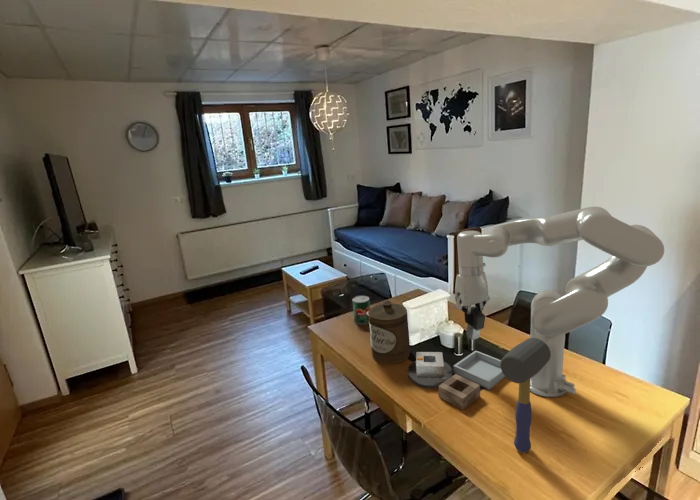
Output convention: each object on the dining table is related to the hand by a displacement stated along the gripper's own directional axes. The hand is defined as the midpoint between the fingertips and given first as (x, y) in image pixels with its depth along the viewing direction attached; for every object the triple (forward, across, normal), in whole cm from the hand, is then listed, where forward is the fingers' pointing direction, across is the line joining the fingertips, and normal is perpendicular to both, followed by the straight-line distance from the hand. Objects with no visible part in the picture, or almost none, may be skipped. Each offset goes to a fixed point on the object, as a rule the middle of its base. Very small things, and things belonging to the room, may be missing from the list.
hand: (473, 321), depth 128 cm
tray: (+20, -2, 0) cm, 20 cm away
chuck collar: (+17, +14, -7) cm, 23 cm away
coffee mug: (+18, +16, -44) cm, 50 cm away
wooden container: (+18, +20, -26) cm, 37 cm away
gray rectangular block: (+6, 0, -1) cm, 6 cm away
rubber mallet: (+20, +11, +32) cm, 40 cm away
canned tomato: (+17, +18, -58) cm, 63 cm away
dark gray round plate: (+19, +14, -7) cm, 25 cm away
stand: (+19, +12, +7) cm, 24 cm away
